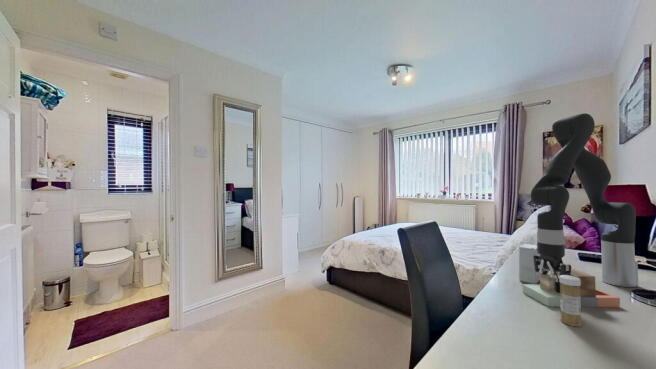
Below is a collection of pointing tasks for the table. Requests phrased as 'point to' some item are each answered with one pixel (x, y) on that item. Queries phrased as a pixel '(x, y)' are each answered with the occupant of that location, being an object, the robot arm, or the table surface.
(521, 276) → the skincare box
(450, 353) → the table surface
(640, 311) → the table surface
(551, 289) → the birch block
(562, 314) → the sprinkles bottle
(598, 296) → the tunnel deck
